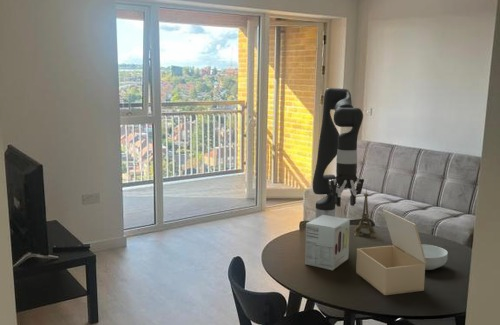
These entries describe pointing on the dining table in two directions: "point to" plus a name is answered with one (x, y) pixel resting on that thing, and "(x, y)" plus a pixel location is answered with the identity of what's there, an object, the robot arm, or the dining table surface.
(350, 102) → the robot arm
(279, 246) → the dining table surface
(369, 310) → the dining table surface
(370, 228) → the eiffel tower
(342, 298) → the dining table surface
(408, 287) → the mailer box
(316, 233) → the supplement box
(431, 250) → the cereal bowl
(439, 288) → the dining table surface
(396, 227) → the mailer lid
